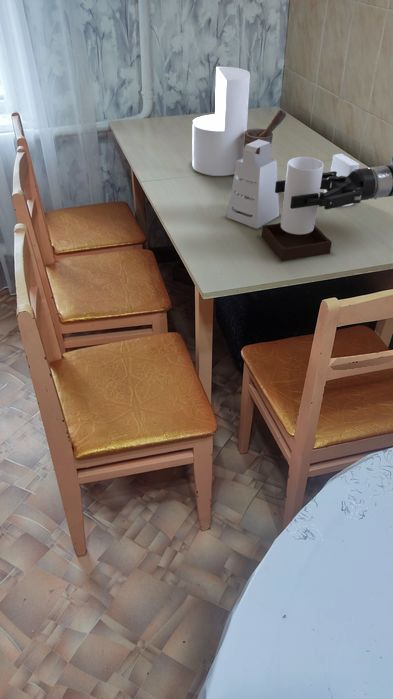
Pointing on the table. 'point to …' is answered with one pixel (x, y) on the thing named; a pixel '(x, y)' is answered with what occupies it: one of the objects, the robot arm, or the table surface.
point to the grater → (255, 186)
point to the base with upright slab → (343, 167)
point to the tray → (295, 243)
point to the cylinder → (222, 125)
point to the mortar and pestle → (264, 131)
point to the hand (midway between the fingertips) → (283, 194)
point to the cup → (301, 181)
